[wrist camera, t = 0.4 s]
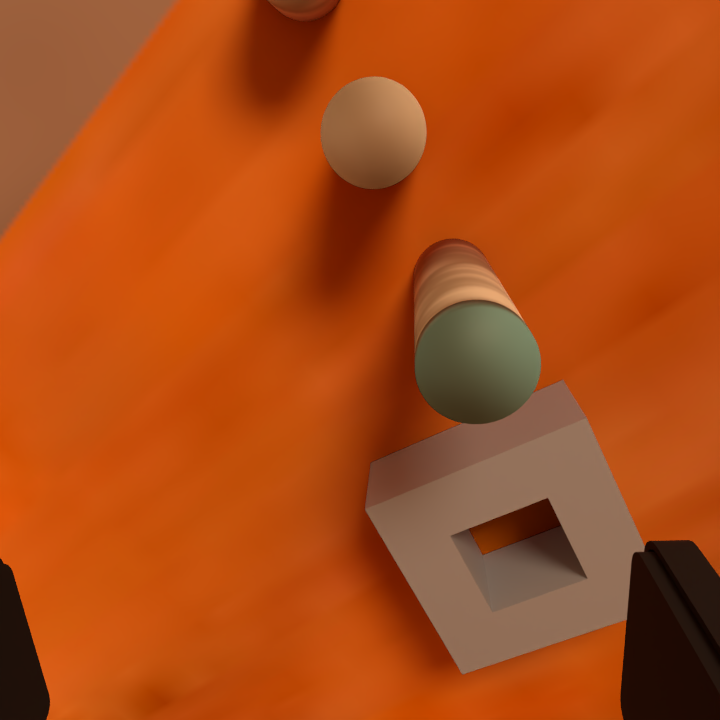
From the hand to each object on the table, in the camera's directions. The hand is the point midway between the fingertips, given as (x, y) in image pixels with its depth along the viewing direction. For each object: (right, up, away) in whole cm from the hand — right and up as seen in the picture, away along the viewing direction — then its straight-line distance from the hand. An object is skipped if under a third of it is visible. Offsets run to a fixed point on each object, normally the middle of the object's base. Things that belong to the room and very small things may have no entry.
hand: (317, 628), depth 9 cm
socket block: (+9, -5, +28) cm, 30 cm away
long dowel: (+5, +8, +24) cm, 26 cm away
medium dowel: (+2, +15, +22) cm, 27 cm away
